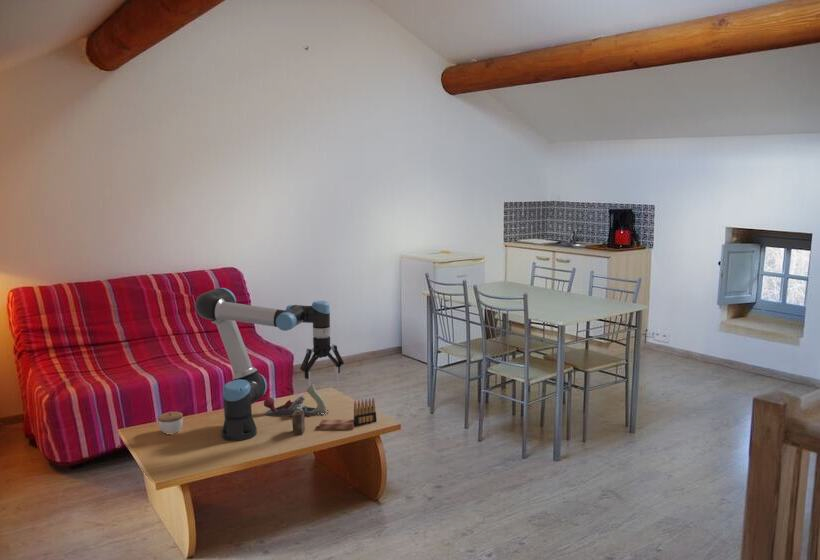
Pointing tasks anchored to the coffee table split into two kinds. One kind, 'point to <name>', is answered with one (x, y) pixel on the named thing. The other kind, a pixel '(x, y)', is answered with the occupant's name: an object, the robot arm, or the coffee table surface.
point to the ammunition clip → (364, 412)
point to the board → (336, 424)
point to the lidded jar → (170, 422)
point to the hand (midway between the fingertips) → (322, 383)
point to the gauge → (298, 422)
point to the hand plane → (297, 405)
